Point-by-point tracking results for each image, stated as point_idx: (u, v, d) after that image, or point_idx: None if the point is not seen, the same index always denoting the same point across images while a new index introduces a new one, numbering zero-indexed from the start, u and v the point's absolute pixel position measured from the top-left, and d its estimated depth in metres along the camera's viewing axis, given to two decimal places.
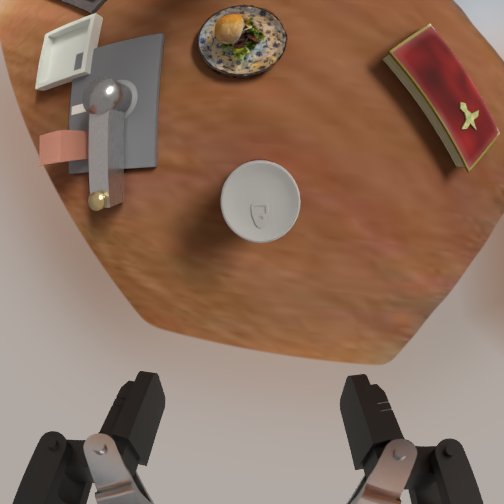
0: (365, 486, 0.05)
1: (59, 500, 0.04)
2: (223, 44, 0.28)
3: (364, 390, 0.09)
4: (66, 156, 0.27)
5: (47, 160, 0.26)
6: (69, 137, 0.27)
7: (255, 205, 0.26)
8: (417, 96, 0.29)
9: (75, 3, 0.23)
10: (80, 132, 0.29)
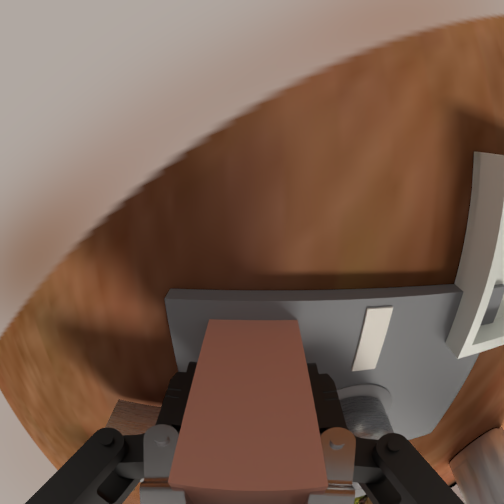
0: None
1: (96, 495, 0.05)
2: None
3: (311, 377, 0.10)
4: None
5: (195, 501, 0.05)
6: None
7: None
8: None
9: None
10: None
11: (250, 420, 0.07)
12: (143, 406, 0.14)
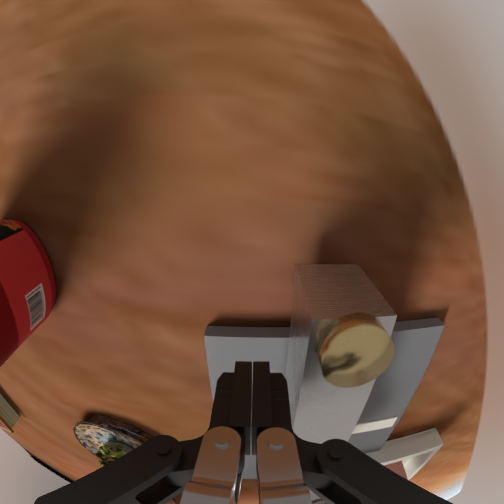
0: (261, 485, 0.06)
1: (133, 500, 0.05)
2: None
3: (261, 376, 0.10)
4: None
5: None
6: None
7: None
8: None
9: None
10: None
11: None
12: None
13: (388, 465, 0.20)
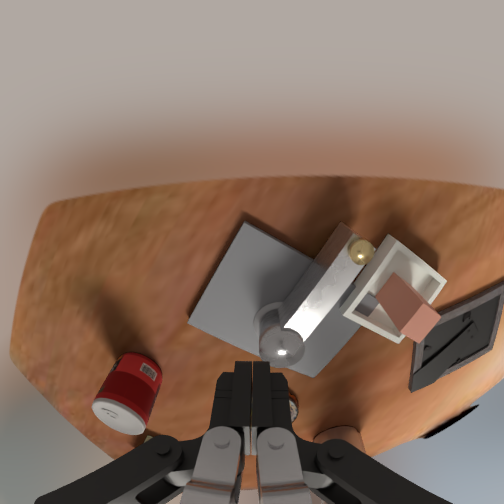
0: (261, 485, 0.06)
1: (133, 499, 0.05)
2: None
3: (261, 376, 0.10)
4: None
5: (416, 316, 0.25)
6: None
7: (115, 415, 0.29)
8: None
9: (448, 314, 0.34)
10: None
11: (423, 299, 0.27)
12: None
13: (388, 286, 0.31)
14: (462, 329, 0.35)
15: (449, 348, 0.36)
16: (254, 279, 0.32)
